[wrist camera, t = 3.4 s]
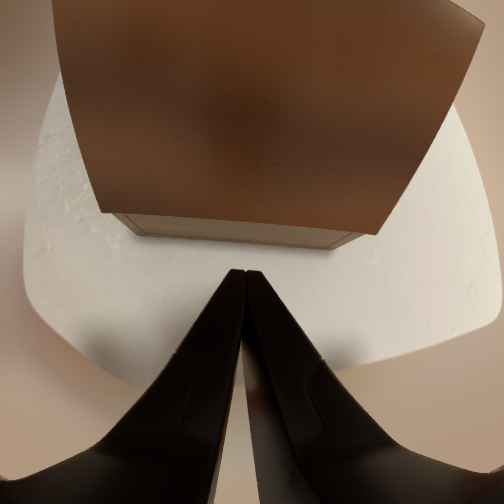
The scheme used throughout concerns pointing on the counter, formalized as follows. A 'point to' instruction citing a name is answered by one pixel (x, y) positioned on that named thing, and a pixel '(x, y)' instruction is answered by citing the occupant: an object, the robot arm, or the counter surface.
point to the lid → (260, 103)
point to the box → (236, 231)
